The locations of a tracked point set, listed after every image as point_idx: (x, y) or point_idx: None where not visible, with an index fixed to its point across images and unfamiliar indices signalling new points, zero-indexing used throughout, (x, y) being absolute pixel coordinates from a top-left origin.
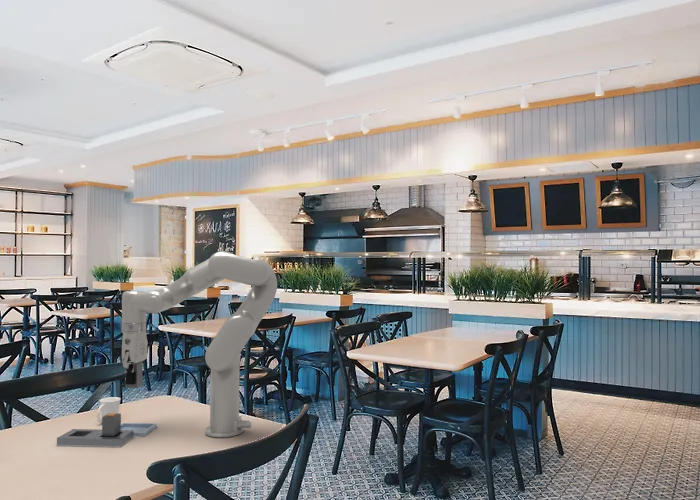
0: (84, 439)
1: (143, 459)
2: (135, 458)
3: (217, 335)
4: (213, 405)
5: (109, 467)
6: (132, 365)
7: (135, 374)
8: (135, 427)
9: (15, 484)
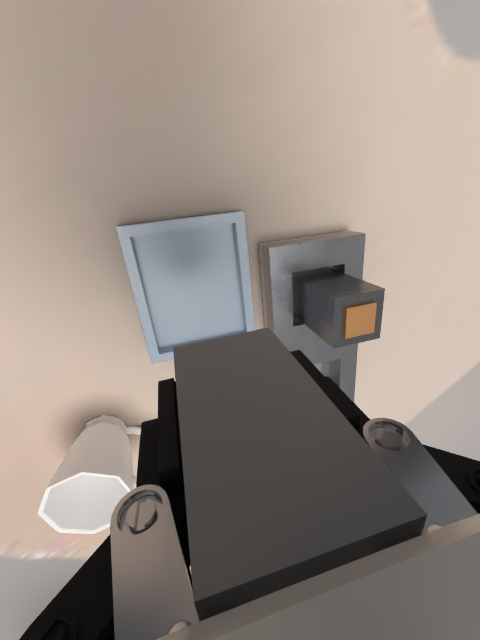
0: (356, 343)
1: (429, 93)
2: (419, 129)
3: None
4: None
5: (473, 172)
6: (462, 507)
7: (339, 398)
8: (150, 307)
9: None
